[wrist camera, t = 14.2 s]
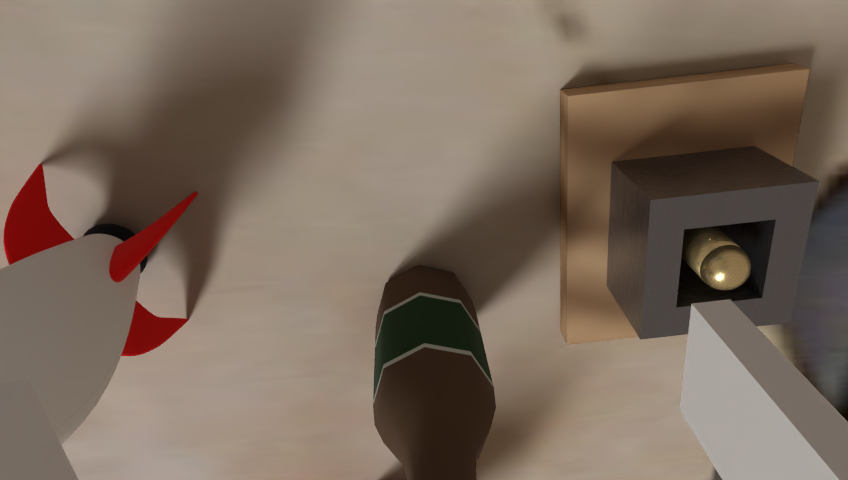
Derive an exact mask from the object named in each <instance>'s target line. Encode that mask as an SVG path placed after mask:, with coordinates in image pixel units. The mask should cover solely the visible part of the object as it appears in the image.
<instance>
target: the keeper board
mask: <svg viewBox="0 0 848 480" xmlns="http://www.w3.org/2000/svg"><path fill="white" fill-rule="evenodd" d="M809 70H810V69H809V68H805V67H802V66H799V65H795V64H792V63H791V64H782V65H773V66H765V67H756V68H747V69H738V70H729V71H720V72H711V73H703V74H694V75H685V76H676V77H667V78H658V79H650V80H641V81H632V82H623V83H614V84H605V85H597V86H588V87H579V88H570V89H561V90H560V271H561V333H562V335H563V337H564V339H565V342H566V344H567V345H569V344H578V343H587V342H595V341H604V340H613V339H622V338H630V337H639V336H638V335H637V333H636V332H635V330H634V329H633V327H632V325H631V324H630V322H629V321H628V319H627V318H626V316H625V314H624V313H623V311H622V310H621V308H620V306H619V305H618V303H617V302H616V300H615V299H614V297H613V295H612V294H611V292H610V291H609V289H608V288H607V286H606V282H607V258H608V233H609V209H610V184H611V162H613V161H622V160H631V159H640V158H649V157H658V156H667V155H676V154H685V153H694V152H703V151H712V150H721V149H730V148H739V147H748V146H756V147H758V148H760V149H761V150H763V151H765V152H767V153H769V154H770V155H772V156H774V157H776V158H778V159H779V160H781V161H783V162H785V163H787V164H788V165H790V166H792V167H793V161H794V155H795V150H796V144H797V138H798V133H799V127H800V121H801V116H802V110H803V104H804V99H805V93H806V87H807V82H808V76H809Z"/></svg>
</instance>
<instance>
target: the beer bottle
mask: <svg viewBox="0 0 848 480" xmlns="http://www.w3.org/2000/svg"><path fill="white" fill-rule="evenodd" d="M373 408H374V421H375V426H376V428H377V430H378V432H379V434H380V436H381V438H382V440H383V442H384V444H385V445H386V446H387V447H388V448H389V449H390V451H391V452H392V453H393V454H394V455H395V456H396V458H397V459H398V460H399V461H400V462H401V463H402V465H403V469H404V473H405V476H406V480H476V460H477V459H478V458H479V456H480V453H481V450H482V448H483V445H484V443H485V440H486V438H487V435H488V433H489V430H490V427H491V424H492V420H493V416H494V412H495V409H496V404H495V395H494V387H493V383H492V379H491V375H490V370H489V366H488V362H487V358H486V353H485V349H484V345H483V341H482V337H481V332H480V328H479V324H478V320H477V315H476V312H475V309H474V306H473V303H472V300H471V299H470V297H469V296H468V294H467V293H466V291H465V290H464V288H463V287H462V285H461V284H460V282H459V281H458V279H457V278H456V276H455V274H454V273H451V272H446V271H441V270H436V269H431V268H426V267H421V266H416V267H415V268H413V269H411V270H409V271H407V272H405V273H404V274H402V275H400V276H398V277H396V278H395V279H393V280H391V281H389V282H387V283H386V284H385V288H384V291H383V295H382V299H381V303H380V307H379V311H378V314H377V322H376V336H375V367H374V397H373Z"/></svg>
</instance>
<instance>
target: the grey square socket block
mask: <svg viewBox="0 0 848 480" xmlns="http://www.w3.org/2000/svg"><path fill="white" fill-rule="evenodd" d="M818 183H819V181H817V180H816V179H814V178H812V177H810V176H808V175H807V174H805V173H803V172H801V171H799V170H797V169H796V168H794V167H792V166H790V165H788V164H787V163H785V162H783V161H781V160H779V159H778V158H776V157H774V156H772V155H770V154H769V153H767V152H765V151H763V150H761V149H760V148H758V147H756V146H748V147H739V148H730V149H721V150H712V151H703V152H694V153H685V154H676V155H667V156H658V157H649V158H640V159H631V160H622V161H613V162H611V184H610V209H609V233H608V258H607V282H606V286H607V288H608V289H609V291H610V292H611V294H612V295H613V297H614V299H615V300H616V302H617V303H618V305H619V306H620V308H621V310H622V311H623V313H624V314H625V316H626V318H627V319H628V321H629V322H630V324H631V325H632V327H633V329H634V330H635V332H636V333H637V335H638V336H639V338H640V339H648V338H657V337H666V336H675V335H684V334H688V331H689V322H690V313H691V304H693V303H701V302H710V301H719V300H727V299H730V300H731V301H732V302H733V303H734V304H735V305H736V306H737V307H738V308H739V309H740V310H741V311H742V312H743V313H744V314H745V315H746V316H747V317H748V318H749V319H750V321H751V322H752V323H753V324H754V325H755V326H764V325H773V324H782V323H790V322H791V317H792V312H793V307H794V302H795V297H796V292H797V287H798V282H799V277H800V272H801V267H802V262H803V257H804V252H805V247H806V243H807V238H808V233H809V228H810V223H811V218H812V213H813V208H814V203H815V198H816V193H817V188H818ZM712 226H716V227H718V228H719V229H720V230H721V231H722V232H723V233H724V234H726V235H727V236H728V237H729V238H730V239H731V240H733V241H734V242H735V243H736V244H737V245H738V246H740V247H741V248H742V249H743V250H744V251H745V252H746V253H747V255H748V257H749V259H750V262H751V271H750V275H749V277H748V278H747V280H746V281H745V282H744V283H743V284H742V285H741V286H739V287H737V288H735V289H732V290H718V289H715V288H712V287H710V286H709V285H707V284H706V283H705V282H704V281H703V280H702V279H701V278H700V277H699V276H698V275H697V274H696V272H695V271H694V270H693V269H692V268H691V267H690V266H689V265H688V264H687V263H686V262H685V261H684V260H683V259H682V257H681V256H682V246H683V236H684V230H685V229H694V228H703V227H712Z"/></svg>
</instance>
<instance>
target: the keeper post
mask: <svg viewBox="0 0 848 480" xmlns="http://www.w3.org/2000/svg"><path fill="white" fill-rule="evenodd" d="M681 257H682V259H683V260H684V261H685V262H686V263H687V264H688V265H689V266H690V267H691V268H692V269H693V270H694V271H695V272H696V274H697V275H698V276H699V277H700V278H701V279H702V280H703V281H704V282H705V283H706V284H707V285H709V286H710V287H712V288H715V289H718V290H732V289H735V288H737V287H739V286H741V285H742V284H743V283H744V282H745V281H746V280H747V278H748V277H749V275H750V271H751V262H750V259H749V257H748V255H747V253H746V252H745V251H744V250H743V249H742V248H741V247H740V246H738V245H737V244H736V243H735V242H734V241H733V240H731V239H730V238H729V237H728V236H727V235H726V234H724V233H723V232H722V231H721V230H720V229H719V228H718V227H716V226H712V227H703V228H694V229H685V230H684V236H683V246H682V256H681Z"/></svg>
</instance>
